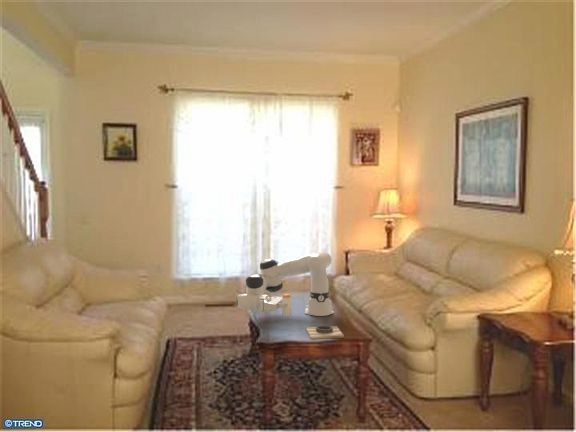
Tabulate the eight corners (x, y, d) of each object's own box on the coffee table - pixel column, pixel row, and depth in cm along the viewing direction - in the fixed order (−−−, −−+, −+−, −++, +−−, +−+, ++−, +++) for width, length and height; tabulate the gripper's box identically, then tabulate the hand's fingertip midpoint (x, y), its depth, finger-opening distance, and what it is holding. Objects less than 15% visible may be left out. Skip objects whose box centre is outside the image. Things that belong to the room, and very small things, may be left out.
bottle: (281, 314, 291) (281, 293, 291) (290, 313, 292) (290, 293, 291) (282, 316, 286) (282, 295, 286) (292, 315, 287) (291, 295, 286)
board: (305, 329, 300) (305, 323, 300) (336, 328, 302) (337, 323, 302) (310, 338, 282) (310, 332, 282) (343, 337, 284) (343, 331, 284)
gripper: (269, 304, 302) (292, 305, 299) (259, 312, 282) (284, 314, 279) (269, 293, 302) (292, 294, 299) (259, 301, 282) (284, 302, 279)
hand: (288, 304), depth 289 cm, fingers closed on bottle, 5 cm apart
